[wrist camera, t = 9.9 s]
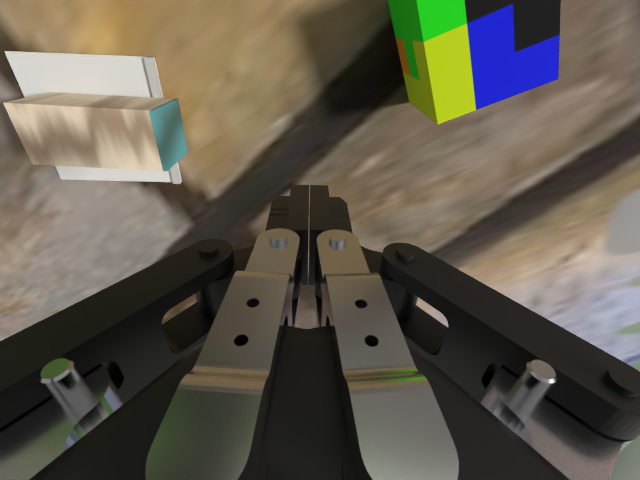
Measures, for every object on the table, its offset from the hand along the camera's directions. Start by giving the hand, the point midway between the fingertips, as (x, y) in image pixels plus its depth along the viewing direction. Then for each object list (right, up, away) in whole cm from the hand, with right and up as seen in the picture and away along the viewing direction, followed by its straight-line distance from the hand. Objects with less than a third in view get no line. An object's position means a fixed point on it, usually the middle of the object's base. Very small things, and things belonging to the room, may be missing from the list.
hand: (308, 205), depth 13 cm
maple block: (-15, +10, +21) cm, 28 cm away
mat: (-25, +12, +24) cm, 36 cm away
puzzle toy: (+14, +20, +20) cm, 31 cm away
